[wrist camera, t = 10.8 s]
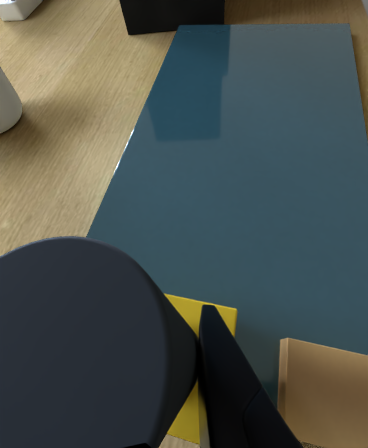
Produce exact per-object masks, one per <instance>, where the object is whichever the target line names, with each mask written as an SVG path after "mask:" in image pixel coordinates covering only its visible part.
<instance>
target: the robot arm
mask: <svg viewBox="0 0 368 448" xmlns="http://www.w3.org/2000/svg"><path fill="white" fill-rule="evenodd" d="M198 362H199V364H198V408H199V437H200V448H303V446H302V445H301V443H300V442H299V441H298V439H297V438H296V436H295V435H294V434H293V432H292V431H291V429H290V428H289V427H288V425H287V424H286V422H285V421H284V419H283V418H282V416H281V414H280V413H279V411H278V410H277V408H276V407H275V405H274V403H273V402H272V400H271V398H270V397H269V395H268V393H267V392H266V390H265V388H263V385H262V384H261V382H260V380H259V379H258V377H257V375H256V373H255V372H254V370H253V368H252V367H251V365H250V363H249V362H248V360H247V358H246V357H245V355H244V353H243V352H242V350H241V348H240V347H239V345H238V343H237V342H236V340H235V338H234V337H233V335H232V333H231V332H230V330H229V328H228V327H227V325H226V323H225V322H224V320H223V318H222V317H221V315H220V313H219V312H218V310H217V308H216V307H215V306H214V305H207V304H203V305H202V309H201V315H200V322H199V338H198Z"/></svg>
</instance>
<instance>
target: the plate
mask: <svg viewBox="0 0 368 448" xmlns="http://www.w3.org/2000/svg"><path fill="white" fill-rule="evenodd" d="M86 238H92V239H96V240H100V241H103V242H106V243H108V244H111V245H113V246H115V247H117V248H119V249H120V250H122V251H124V252H125V253H127V254H128V255H129V256H130V257H132V258H133V259H134V260H135V261H137V262H138V264H139V265H140V266H141V267H142V268H143V269H144V270H145V271H146V272H147V274H148V275H149V276H150V277H151V279H152V280H153V281H154V282H155V283H156V285H157V286H158V287H159V288H160V290H161V291H162V292H163V293H164V294H169V295H174V296H178V297H183V298H188V299H192V300H197V301H202V302H207V303H211V304H216V305H221V306H225V307H230V308H235V309H237V311H238V312H237V320H236V329H235V337H234V338H235V340H236V342H237V343H238V345H239V347H240V348H241V350H242V352H243V353H244V355H245V357H246V358H247V360H248V362H249V363H250V365H251V367H252V368H253V370H254V372H255V373H256V375H257V377H258V379H259V380H260V382H261V384H262V385H263V388H265V390H266V392H267V393H268V395H269V397H270V398H271V400H272V402H273V403H274V405H275V407H276V408H278V384H279V360H280V340H281V339H285V338H292V339H296V340H300V341H305V342H309V343H314V344H318V345H323V346H327V347H332V348H336V349H341V350H345V351H350V352H354V353H359V354H363V355H367V356H368V140H367V134H366V127H365V121H364V114H363V108H362V101H361V95H360V89H359V82H358V76H357V69H356V63H355V56H354V50H353V44H352V37H351V31H350V24H349V23H348V24H245V25H179V27H178V30H177V32H176V34H175V36H174V39H173V41H172V43H171V45H170V48H169V50H168V52H167V55H166V57H165V59H164V61H163V64H162V66H161V68H160V70H159V73H158V75H157V77H156V80H155V82H154V84H153V86H152V89H151V91H150V93H149V95H148V98H147V100H146V102H145V105H144V107H143V109H142V111H141V114H140V116H139V118H138V120H137V123H136V125H135V127H134V129H133V132H132V134H131V136H130V139H129V141H128V143H127V145H126V148H125V150H124V152H123V154H122V157H121V159H120V161H119V164H118V166H117V168H116V170H115V173H114V175H113V177H112V179H111V182H110V184H109V186H108V189H107V191H106V193H105V195H104V198H103V200H102V202H101V204H100V207H99V209H98V211H97V214H96V216H95V218H94V220H93V223H92V225H91V227H90V229H89V232H88V234H87V236H86Z"/></svg>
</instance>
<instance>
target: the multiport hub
mask: <svg viewBox="0 0 368 448" xmlns="http://www.w3.org/2000/svg"><path fill="white" fill-rule="evenodd" d="M42 1H43V0H0V17H1V19H2V21H18V20H24V19H26V18H27V17H28V16H29V15H30V14H31V13H32V11H33V10H34V9H35V8H36V7H37V6H38V5H39V4H40V3H41V2H42Z"/></svg>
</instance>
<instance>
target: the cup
mask: <svg viewBox="0 0 368 448" xmlns="http://www.w3.org/2000/svg"><path fill="white" fill-rule="evenodd" d="M21 114H22V103H21V101H20V98H19V96H18V95H17V93H16V91H15V90H14V88H13V86H12V85H11V83H10V81H9V80H8V78H7V77H6V75H5V73H4V72H3V70H2V69H1V67H0V133H3V132H4V131H6V130H8V129H10V128H11V127H12V126H13V125H15V124H16V123H17V121H18V120H19V119H20V117H21Z"/></svg>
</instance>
